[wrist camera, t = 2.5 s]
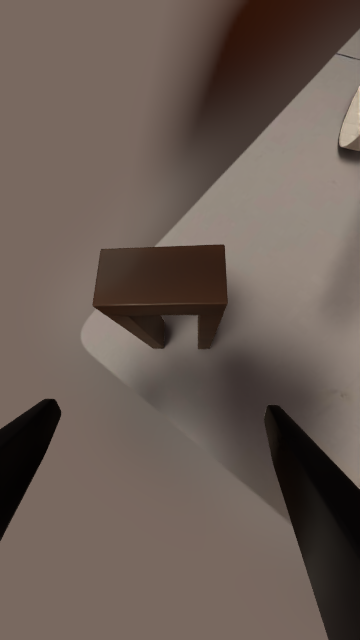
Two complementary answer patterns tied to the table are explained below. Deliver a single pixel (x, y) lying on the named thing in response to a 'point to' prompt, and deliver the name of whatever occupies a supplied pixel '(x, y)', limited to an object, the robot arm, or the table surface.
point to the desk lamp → (351, 125)
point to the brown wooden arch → (162, 289)
